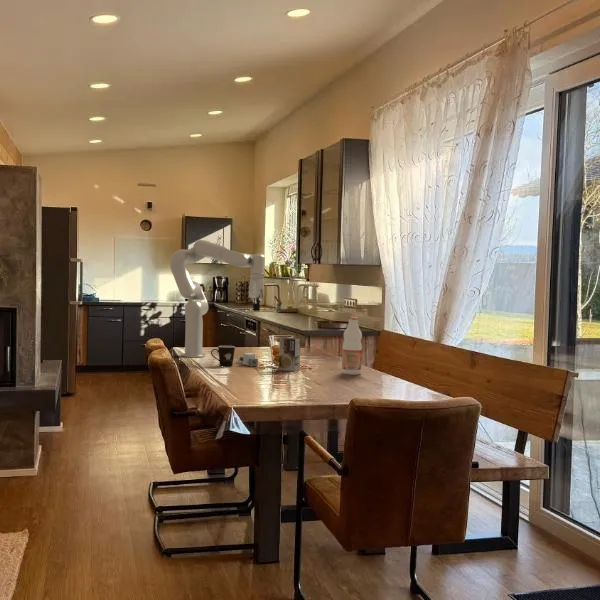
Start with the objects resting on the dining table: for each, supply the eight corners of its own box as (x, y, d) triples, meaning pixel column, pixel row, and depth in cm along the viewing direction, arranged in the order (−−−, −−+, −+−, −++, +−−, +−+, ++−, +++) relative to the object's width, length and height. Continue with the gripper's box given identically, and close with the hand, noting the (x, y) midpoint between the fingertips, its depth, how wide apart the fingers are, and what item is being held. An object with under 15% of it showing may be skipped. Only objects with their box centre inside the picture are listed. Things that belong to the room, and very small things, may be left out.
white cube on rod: (243, 364, 375) (243, 353, 375) (250, 363, 377) (251, 353, 377) (246, 365, 371) (247, 354, 371) (254, 365, 374) (254, 354, 373)
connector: (248, 366, 370) (248, 358, 370) (255, 365, 372) (255, 358, 372) (250, 366, 368) (250, 359, 368) (257, 366, 370) (257, 358, 370)
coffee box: (300, 370, 363) (301, 338, 363) (294, 371, 357) (295, 339, 357) (283, 368, 367) (284, 336, 366) (278, 369, 361) (279, 337, 361)
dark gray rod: (237, 361, 382) (238, 355, 382) (243, 361, 384) (243, 355, 383) (251, 365, 368) (251, 359, 368) (256, 365, 370) (257, 359, 370)
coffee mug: (236, 365, 372) (236, 346, 371) (232, 367, 363) (233, 347, 363) (213, 364, 373) (214, 345, 373) (210, 366, 364) (210, 346, 364)
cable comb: (235, 362, 381) (235, 356, 381) (245, 362, 384) (246, 356, 384) (236, 363, 380) (236, 356, 380) (246, 362, 383) (247, 356, 383)
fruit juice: (337, 372, 359) (340, 316, 357) (353, 371, 364) (355, 316, 363) (349, 375, 351) (351, 317, 350) (364, 374, 356) (366, 317, 355)
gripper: (245, 276, 397) (244, 309, 398) (257, 277, 385) (256, 311, 385) (257, 276, 401) (256, 309, 402) (269, 277, 388) (268, 311, 389)
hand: (256, 310), depth 394 cm, fingers closed
